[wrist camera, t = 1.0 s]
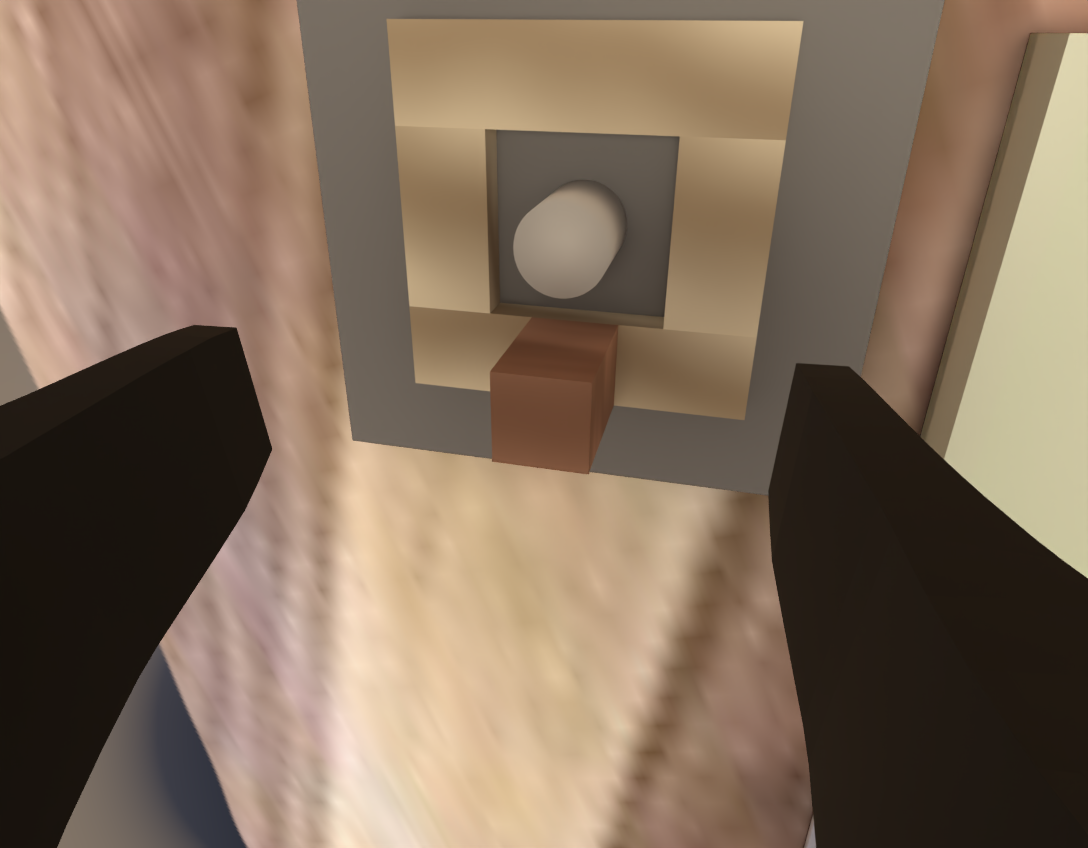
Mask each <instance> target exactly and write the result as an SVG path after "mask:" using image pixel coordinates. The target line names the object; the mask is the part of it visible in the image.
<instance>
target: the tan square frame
mask: <svg viewBox="0 0 1088 848" xmlns="http://www.w3.org/2000/svg"><path fill="white" fill-rule="evenodd" d="M802 28H803V21H702V20H508V19H387V31H388V43H389V56H390V69H391V81H392V94H393V106H394V119H395V131H396V144H397V157H398V169H399V182H400V194H401V207H402V219H403V232H404V245H405V257H406V270H407V282H408V295H409V308H410V320H411V333H412V345H413V358H414V370H415V383H420V384H429V385H438V386H447V387H455V388H464V389H473V390H482V391H490V400H491V435H492V462H500V463H507V464H515V465H522V466H530V467H537V468H545V469H552V470H560V471H567V472H575V473H582V474H589V471H590V469H591V466H592V463H593V460H594V458H595V455H596V452H597V450H598V447H599V444H600V441H601V439H602V436H603V433H604V431H605V428H606V425H607V423H608V420H609V417H610V414H611V412H612V409H613V406H614V405H615V406H623V407H632V408H641V409H650V410H659V411H668V412H677V413H685V414H694V415H703V416H712V417H721V418H730V419H738V420H745V413H746V406H747V400H748V393H749V386H750V379H751V372H752V366H753V359H754V352H755V345H756V339H757V332H758V325H759V318H760V312H761V305H762V298H763V291H764V285H765V278H766V271H767V264H768V258H769V251H770V244H771V237H772V231H773V224H774V217H775V210H776V204H777V197H778V190H779V183H780V177H781V170H782V163H783V156H784V150H785V143H786V136H787V129H788V123H789V116H790V109H791V102H792V96H793V89H794V82H795V75H796V69H797V62H798V55H799V48H800V42H801V35H802ZM496 130H521V131H548V132H575V133H602V134H629V135H656V136H680V141H679V152H678V164H677V176H676V187H675V199H674V211H673V222H672V234H671V245H670V257H669V269H668V280H667V292H666V304H665V315H664V317H657V316H646V315H634V314H623V313H611V312H600V311H589V310H577V309H566V308H554V307H543V306H531V305H520V304H508V303H500V281H499V233H498V185H497V137H496Z"/></svg>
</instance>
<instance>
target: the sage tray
mask: <svg viewBox="0 0 1088 848" xmlns="http://www.w3.org/2000/svg"><path fill="white" fill-rule="evenodd" d="M920 437H921V438H922V439H923V440H924V441H925V442H926V443H927V444H928V445H929V446H930V447H931V448H933V449H934V450H935V451H936V452H937V453H938V454H939V455H940V456H941V457H942V458H943V459H944V460H945V461H946V462H947V463H948V464H949V465H951V466H952V467H953V468H954V469H955V470H956V471H957V472H958V473H959V474H960V475H961V476H962V477H964V478H965V479H966V480H967V481H968V482H969V483H970V484H971V485H973V486H974V487H975V488H976V489H977V490H978V491H979V492H980V493H981V494H983V495H984V496H985V497H986V498H987V499H988V500H990V501H991V502H992V503H993V504H994V505H996V506H997V507H998V508H999V509H1000V510H1001V511H1003V512H1004V513H1005V514H1006V515H1007V516H1009V517H1010V518H1011V519H1012V520H1013V521H1015V522H1016V523H1017V524H1018V525H1019V526H1021V527H1022V528H1023V529H1024V530H1025V531H1026V532H1028V533H1029V534H1030V535H1031V536H1033V537H1034V538H1035V539H1036V540H1038V541H1039V542H1040V543H1041V544H1043V545H1044V546H1045V547H1047V548H1048V549H1049V550H1050V551H1052V552H1053V553H1054V554H1056V555H1057V556H1058V557H1059V558H1061V559H1062V560H1063V561H1065V562H1066V563H1067V564H1069V565H1070V566H1071V567H1073V568H1074V569H1076V570H1077V571H1078V572H1080V573H1081V574H1083V575H1084V576H1085V577H1087V578H1088V33H1031V34H1030V37H1029V41H1028V44H1027V48H1026V52H1025V55H1024V59H1023V63H1022V66H1021V70H1020V74H1019V77H1018V81H1017V85H1016V88H1015V92H1014V96H1013V99H1012V103H1011V107H1010V110H1009V114H1008V117H1007V121H1006V125H1005V128H1004V132H1003V136H1002V139H1001V143H1000V147H999V150H998V154H997V158H996V161H995V165H994V169H993V172H992V176H991V180H990V183H989V187H988V191H987V194H986V198H985V201H984V205H983V209H982V212H981V216H980V220H979V223H978V227H977V231H976V234H975V238H974V242H973V245H972V249H971V253H970V256H969V260H968V264H967V267H966V271H965V274H964V278H963V282H962V285H961V289H960V293H959V296H958V300H957V304H956V307H955V311H954V315H953V318H952V322H951V326H950V329H949V333H948V337H947V340H946V344H945V348H944V351H943V355H942V358H941V362H940V366H939V369H938V373H937V377H936V380H935V384H934V388H933V391H932V395H931V399H930V402H929V406H928V410H927V413H926V417H925V421H924V424H923V428H922V432H921V435H920Z"/></svg>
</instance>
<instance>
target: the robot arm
mask: <svg viewBox="0 0 1088 848" xmlns="http://www.w3.org/2000/svg"><path fill="white" fill-rule="evenodd" d="M271 451H272V446H271V443H270V440H269V436H268V433H267V429H266V426H265V423H264V419H263V416H262V413H261V409H260V406H259V402H258V399H257V396H256V392H255V389H254V385H253V382H252V379H251V375H250V372H249V368H248V365H247V362H246V358H245V355H244V351H243V348H242V345H241V341H240V338H239V335H238V331H237V328H233V327H217V326H201V325H193V326H189V327H186V328H183V329H180V330H176V331H174V332H171V333H168V334H165V335H163V336H160V337H158V338H155V339H153V340H150V341H148V342H145V343H143V344H141V345H138V346H136V347H133V348H131V349H129V350H127V351H124V352H122V353H120V354H117V355H115V356H113V357H111V358H108V359H106V360H104V361H102V362H99V363H97V364H95V365H93V366H90V367H88V368H86V369H84V370H81V371H79V372H77V373H75V374H72V375H70V376H68V377H66V378H64V379H61V380H59V381H57V382H55V383H52V384H50V385H48V386H46V387H43V388H41V389H39V390H37V391H35V392H32V393H30V394H28V395H25V396H23V397H21V398H18V399H16V400H13V401H11V402H8V403H6V404H4V405H1V406H0V848H57V846H58V844H59V842H60V839H61V837H62V835H63V832H64V829H65V828H66V825H67V823H68V821H69V819H70V817H71V815H72V812H73V810H74V808H75V806H76V804H77V802H78V800H79V798H80V795H81V793H82V791H83V789H84V787H85V785H86V782H87V780H88V778H89V776H90V774H91V772H92V770H93V768H94V766H95V763H96V761H97V759H98V757H99V755H100V753H101V750H102V748H103V746H104V744H105V743H106V741H107V739H108V736H109V735H110V733H111V731H112V729H113V727H114V725H115V723H116V721H117V719H118V717H119V715H120V713H121V711H122V709H123V707H124V705H125V703H126V701H127V699H128V697H129V695H130V694H131V692H132V690H133V688H134V686H135V684H136V682H137V680H138V678H139V676H140V675H141V673H142V671H143V669H144V668H145V666H146V664H147V663H148V661H149V659H150V657H151V656H152V654H153V652H154V651H155V649H156V647H157V646H158V644H159V643H160V641H161V640H162V638H163V637H164V635H165V634H166V632H167V631H168V629H169V627H170V626H171V624H172V623H173V621H174V620H175V618H176V617H177V615H178V614H179V612H180V611H181V609H182V608H183V606H184V605H185V603H186V601H187V600H188V598H189V597H190V595H191V594H192V592H193V591H194V589H195V588H196V586H197V585H198V583H199V582H200V580H201V578H202V577H203V575H204V574H205V572H206V571H207V569H208V568H209V566H210V565H211V563H212V562H213V560H214V559H215V557H216V555H217V554H218V552H219V551H220V549H221V548H222V546H223V544H224V543H225V541H226V540H227V538H228V537H229V535H230V533H231V532H232V530H233V529H234V527H235V526H236V524H237V522H238V521H239V519H240V517H241V516H242V514H243V513H244V511H245V509H246V507H247V505H248V503H249V501H250V499H251V496H252V494H253V492H254V490H255V488H256V486H257V484H258V482H259V479H260V477H261V475H262V472H263V470H264V468H265V465H266V463H267V460H268V458H269V456H270V453H271ZM768 495H769V517H770V536H771V552H772V563H773V569H774V574H775V580H776V585H777V591H778V596H779V601H780V607H781V612H782V617H783V623H784V628H785V633H786V638H787V643H788V649H789V654H790V659H791V664H792V669H793V675H794V680H795V685H796V690H797V696H798V701H799V706H800V711H801V716H802V722H803V728H804V734H805V741H806V748H807V755H808V762H809V772H810V783H811V795H812V806H813V817H812V820H811V824H810V828H809V831H808V835H807V839H806V843H805V846H804V848H1088V578H1087V577H1085V576H1084V575H1083V574H1081V573H1080V572H1078V571H1077V570H1076V569H1074V568H1073V567H1071V566H1070V565H1069V564H1067V563H1066V562H1065V561H1063V560H1062V559H1061V558H1059V557H1058V556H1057V555H1056V554H1054V553H1053V552H1052V551H1050V550H1049V549H1048V548H1047V547H1045V546H1044V545H1043V544H1041V543H1040V542H1039V541H1038V540H1036V539H1035V538H1034V537H1033V536H1031V535H1030V534H1029V533H1028V532H1026V531H1025V530H1024V529H1023V528H1022V527H1021V526H1019V525H1018V524H1017V523H1016V522H1015V521H1013V520H1012V519H1011V518H1010V517H1009V516H1007V515H1006V514H1005V513H1004V512H1003V511H1001V510H1000V509H999V508H998V507H997V506H996V505H994V504H993V503H992V502H991V501H990V500H988V499H987V498H986V497H985V496H984V495H983V494H981V493H980V492H979V491H978V490H977V489H976V488H975V487H974V486H973V485H971V484H970V483H969V482H968V481H967V480H966V479H965V478H964V477H962V476H961V475H960V474H959V473H958V472H957V471H956V470H955V469H954V468H953V467H952V466H951V465H949V464H948V463H947V462H946V461H945V460H944V459H943V458H942V457H941V456H940V455H939V454H938V453H937V452H936V451H935V450H934V449H933V448H931V447H930V446H929V445H928V444H927V443H926V442H925V441H924V440H923V439H922V438H921V437H920V436H919V435H918V434H917V433H916V432H915V431H914V430H913V429H912V428H911V427H910V426H909V425H908V424H907V423H906V422H905V421H904V420H903V419H902V418H901V417H900V416H899V415H898V414H897V413H896V412H895V411H894V410H893V409H892V408H891V407H890V406H889V405H888V404H887V403H886V402H885V401H884V400H883V399H882V398H881V397H880V396H879V395H878V394H877V393H876V392H875V391H874V390H873V389H872V388H871V387H870V386H869V385H868V384H867V383H866V382H865V381H864V380H863V379H862V378H861V377H860V376H859V375H858V374H857V373H856V372H855V371H854V370H852V369H851V368H850V367H849V366H836V365H820V364H804V363H796V366H795V370H794V375H793V380H792V384H791V389H790V393H789V398H788V403H787V407H786V412H785V416H784V421H783V426H782V430H781V435H780V439H779V444H778V449H777V453H776V458H775V462H774V467H773V472H772V476H771V481H770V485H769V490H768Z"/></svg>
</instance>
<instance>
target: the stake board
mask: <svg viewBox="0 0 1088 848" xmlns="http://www.w3.org/2000/svg"><path fill="white" fill-rule="evenodd" d="M944 1H945V0H297V7H298V15H299V23H300V31H301V38H302V46H303V54H304V62H305V70H306V78H307V86H308V93H309V101H310V109H311V117H312V125H313V133H314V141H315V148H316V156H317V164H318V172H319V180H320V188H321V196H322V203H323V211H324V219H325V227H326V235H327V243H328V251H329V259H330V266H331V274H332V282H333V290H334V298H335V306H336V314H337V321H338V329H339V337H340V345H341V353H342V361H343V369H344V376H345V384H346V392H347V400H348V408H349V416H350V424H351V431H352V439H353V441H361V442H368V443H376V444H384V445H391V446H399V447H406V448H414V449H421V450H429V451H436V452H444V453H451V454H459V455H467V456H474V457H482V458H489V459H492V435H491V400H490V391H482V390H473V389H464V388H455V387H447V386H438V385H429V384H420V383H415V370H414V358H413V345H412V333H411V320H410V308H409V295H408V282H407V270H406V257H405V245H404V232H403V219H402V207H401V194H400V182H399V169H398V157H397V144H396V131H395V119H394V106H393V94H392V81H391V69H390V56H389V43H388V31H387V19H508V20H702V21H803V28H802V35H801V42H800V48H799V55H798V62H797V69H796V75H795V82H794V89H793V96H792V102H791V109H790V116H789V123H788V129H787V136H786V143H785V150H784V156H783V163H782V170H781V177H780V183H779V190H778V197H777V204H776V210H775V217H774V224H773V231H772V237H771V244H770V251H769V258H768V264H767V271H766V278H765V285H764V291H763V298H762V305H761V312H760V318H759V325H758V332H757V339H756V345H755V352H754V359H753V366H752V372H751V379H750V386H749V393H748V400H747V406H746V413H745V420H738V419H730V418H721V417H712V416H703V415H694V414H685V413H677V412H668V411H659V410H650V409H641V408H632V407H623V406H615V405H614V406H613V409H612V412H611V414H610V417H609V420H608V423H607V425H606V428H605V431H604V433H603V436H602V439H601V441H600V444H599V447H598V450H597V452H596V455H595V458H594V460H593V463H592V466H591V469H590V471H589V472H595V473H602V474H610V475H617V476H625V477H633V478H640V479H648V480H655V481H663V482H670V483H678V484H685V485H693V486H700V487H708V488H716V489H723V490H731V491H738V492H746V493H753V494H761V495H768V490H769V485H770V481H771V476H772V472H773V467H774V462H775V458H776V453H777V449H778V444H779V439H780V435H781V430H782V426H783V421H784V416H785V412H786V407H787V403H788V398H789V393H790V389H791V384H792V380H793V375H794V370H795V366H796V363H804V364H820V365H836V366H849V367H850V368H851V369H852V370H854V371H855V372H856V373H857V374H858V375H859V376H860V377H861V373H862V369H863V364H864V360H865V355H866V351H867V347H868V342H869V338H870V333H871V329H872V324H873V320H874V315H875V311H876V306H877V302H878V297H879V293H880V288H881V284H882V279H883V275H884V270H885V266H886V261H887V257H888V252H889V248H890V243H891V239H892V234H893V230H894V225H895V221H896V216H897V212H898V207H899V203H900V198H901V194H902V189H903V185H904V180H905V176H906V171H907V167H908V162H909V158H910V153H911V149H912V144H913V140H914V135H915V131H916V126H917V122H918V117H919V113H920V108H921V104H922V99H923V95H924V90H925V86H926V81H927V77H928V72H929V68H930V63H931V59H932V54H933V50H934V45H935V41H936V36H937V32H938V27H939V23H940V18H941V14H942V9H943V5H944ZM496 137H497V185H498V233H499V281H500V303H508V304H520V305H531V306H543V307H554V308H566V309H577V310H589V311H600V312H611V313H623V314H634V315H646V316H657V317H664V315H665V304H666V292H667V280H668V269H669V257H670V245H671V234H672V222H673V211H674V199H675V187H676V176H677V164H678V152H679V141H680V136H656V135H629V134H602V133H575V132H548V131H521V130H496ZM768 496H769V495H768Z"/></svg>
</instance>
